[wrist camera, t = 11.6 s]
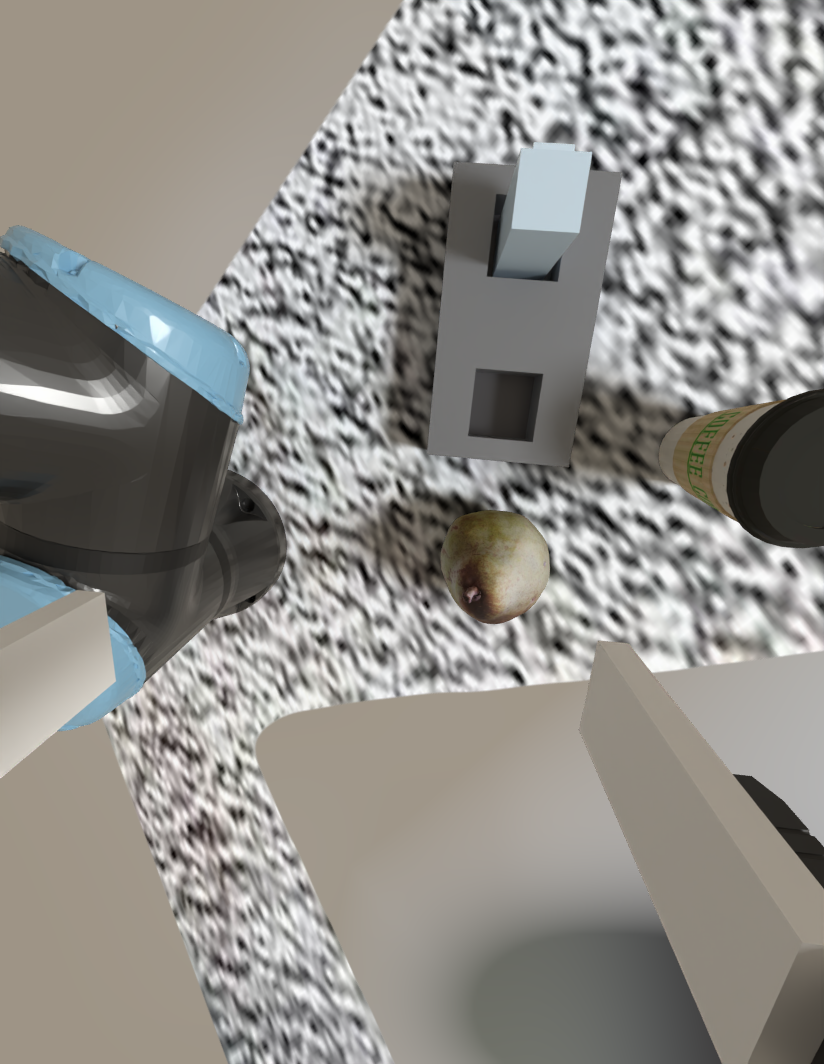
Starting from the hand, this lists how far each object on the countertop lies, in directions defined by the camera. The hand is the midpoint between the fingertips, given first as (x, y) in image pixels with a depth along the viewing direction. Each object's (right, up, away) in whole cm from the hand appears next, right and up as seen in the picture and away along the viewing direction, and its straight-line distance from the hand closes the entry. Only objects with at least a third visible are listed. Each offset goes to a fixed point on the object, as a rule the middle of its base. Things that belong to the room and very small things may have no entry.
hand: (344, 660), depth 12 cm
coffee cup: (+27, +11, +28) cm, 41 cm away
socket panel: (+10, +21, +26) cm, 35 cm away
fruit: (+10, +2, +32) cm, 34 cm away
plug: (+11, +26, +24) cm, 37 cm away
